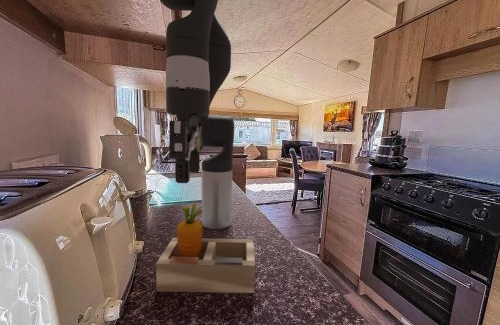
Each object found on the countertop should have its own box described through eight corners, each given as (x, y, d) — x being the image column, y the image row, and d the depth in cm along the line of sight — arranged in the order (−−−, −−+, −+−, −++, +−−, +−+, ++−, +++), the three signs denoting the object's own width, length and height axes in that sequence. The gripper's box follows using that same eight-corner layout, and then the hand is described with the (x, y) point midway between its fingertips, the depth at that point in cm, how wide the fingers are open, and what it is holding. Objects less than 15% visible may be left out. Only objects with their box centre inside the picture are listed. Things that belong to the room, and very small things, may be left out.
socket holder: (173, 260, 50) (172, 235, 50) (252, 262, 51) (253, 237, 50) (156, 291, 41) (155, 261, 40) (253, 292, 41) (255, 262, 41)
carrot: (192, 264, 49) (192, 198, 47) (207, 273, 46) (208, 203, 44) (172, 274, 46) (171, 203, 43) (186, 286, 42) (186, 210, 40)
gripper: (178, 92, 47) (179, 169, 50) (150, 79, 33) (153, 186, 36) (214, 94, 47) (213, 170, 50) (201, 81, 33) (201, 188, 36)
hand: (188, 176), depth 43 cm, fingers open, 8 cm apart
